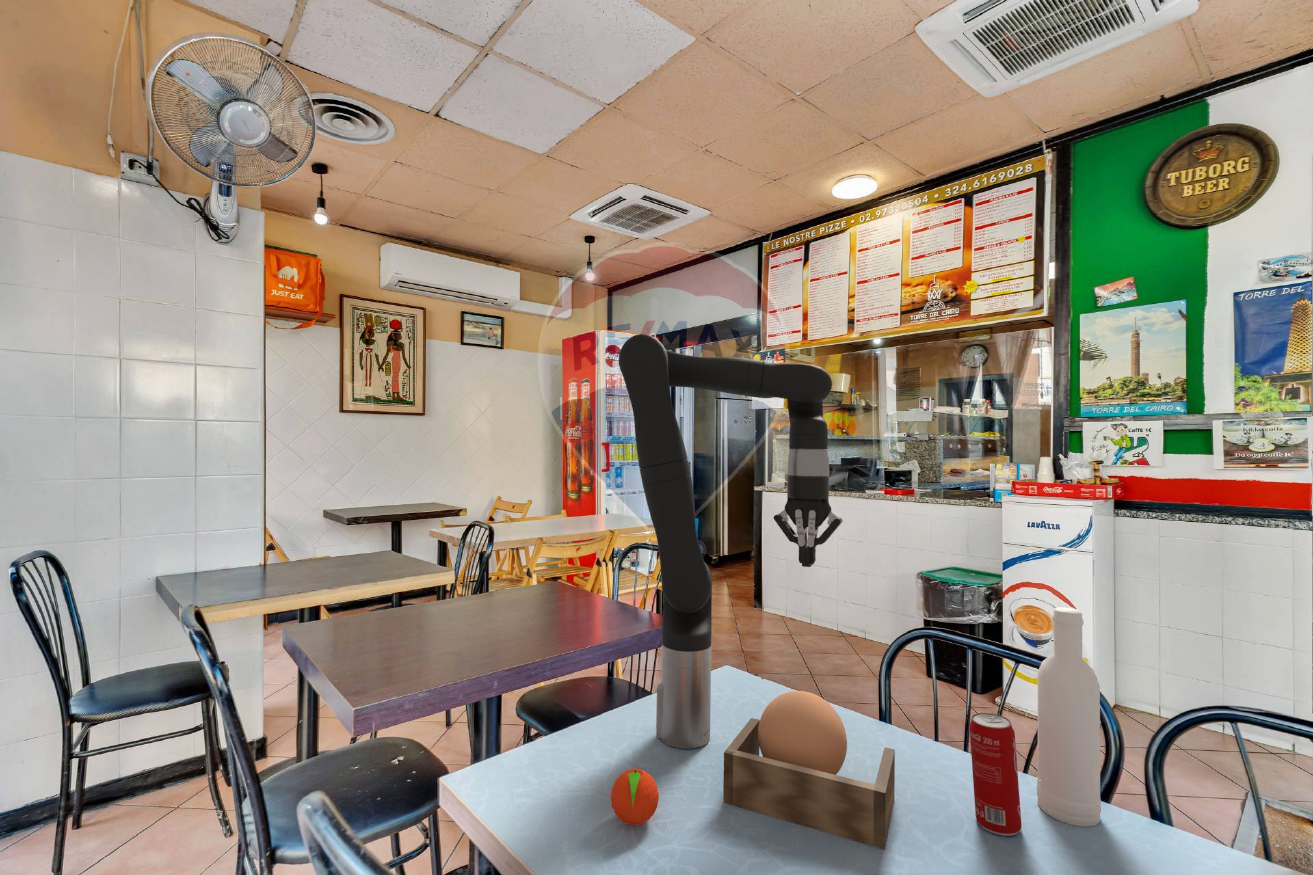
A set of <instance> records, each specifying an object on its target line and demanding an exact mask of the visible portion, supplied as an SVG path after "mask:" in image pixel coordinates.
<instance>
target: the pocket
mask: <svg viewBox="0 0 1313 875" xmlns="http://www.w3.org/2000/svg"><path fill="white" fill-rule="evenodd" d="M759 722H760V719H759V718H758V719H757V718H753V717H751V718H750V719H749V720H748V721H747V723H746V724H745V725H744V726H743V727H742V729H741V730H740V731H739V733H738V734H737V735H736V737H735V738H734V739H733V740H732V741H731V743H730V744H729V745H728V747H726V749H725V750H724V751H723V786H722V787H723V792H722V794H723V796H722V797H723V798H722V800H723V802H722V803H724V804H725V805H726V804H727V805H729V806H730V805H731V806H732V807H733V806H734V807H737V808H741V809H744V810H747V811H751V812H755V813H757V814H761V815H765V816H768V817H771V818H774V819H779V820H782V821H785V822H789V823H792V824H795V825H799V826H803V827H805V828H808V829H813V830H817V831H819V832H822V833H826V834H829V835H832V836H837V837H839V838H842V839H843V838H844V839H845V840H846V839H847V840H851V841H854V842H856V843H861V844H864V845H868V846H870V847H874V848H877V849H881V850H886V847H887V842H888V836H889V830H890V825H891V820H892V815H893V809H894V803H895V798H896V797H895V787H896V786H895V784H896V781H895V780H896V779H895V777H896V776H895V774H896V773H895V772H896V771H895V770H896V769H895V768H896V766H895V765H896V764H895V762H896V757H895V755H896V752H895V749H894V748H889V747H886V746H884V747H883V751H882V755H881V760H880V764H879V768H878V771H877V777H876V780H875V784H874V783H870V782H866V781H861V780H858V779H853V778H850V777H846V776H841V775H838V774H836V775H834V774H830V773H826V772H822V771H818V770H814V769H810V768H805V767H801V766H797V765H793V764H789V763H785V762H781V761H777V760H773V759H769V758H765V757H763V756H760V746H759V741H758V727H759Z"/></svg>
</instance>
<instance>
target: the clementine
mask: <svg viewBox="0 0 1313 875" xmlns="http://www.w3.org/2000/svg"><path fill="white" fill-rule="evenodd" d="M659 794H660V793H659V788H658V785H657V783H656V780H655V779H654V778H653V777H652V775H651V774H650V773H648V772H647V771H645V770H642V769H639V768H630V769H628V770H626V771H623V773H621V774H619V775H618V777H617V778H616V779H615V780H614V783H613V785H612V787H611V792H610V803H611V808H612V809H613V810H612V811H613V812H614V815H615V816H616V817H617V818H618V820H619V821H621V822H623V823H624V824H626V825H629V826H638V825H642V824H644V823H646V822H647V821H649V820H650V819H651V818H652V816H654V814H655V812H656V810H657V808H658V805H659V799H660V795H659Z"/></svg>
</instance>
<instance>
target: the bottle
mask: <svg viewBox="0 0 1313 875" xmlns="http://www.w3.org/2000/svg"><path fill="white" fill-rule="evenodd" d="M1051 618H1052V619H1051V620H1052V622H1053V653H1052V654H1050V655H1049V656H1048V657H1046V658H1045V659H1044V660H1042V661H1041V664H1040V665H1039V667H1038V668H1039V669H1038V671H1037V780H1036V796H1037V805H1038V806H1039V808H1040V809H1041V810H1042V812H1044V813H1045V814H1046V815H1048V816H1049V817H1051V818H1054V819H1055V820H1057V821H1059V822H1062V823H1064V822H1065V824H1067V825H1072V826H1075V825H1076V826H1077V827H1081V826H1082V827H1085V828H1086V827H1087V828H1089V827H1090V828H1091V827H1094V826H1098V824H1099V823H1100V822H1101V814H1102V800H1101V710H1100V709H1101V708H1100V707H1101V701H1100V700H1101V698H1100V697H1101V694H1100V693H1101V689H1100V688H1101V686H1100V683H1099V681H1098V677H1097V675H1096V672H1095V670H1094V668H1093V667H1091V666H1090V664H1089V663H1088V662H1087V661H1086V660H1084V658H1083V625H1084V619H1083V613H1082V612H1081V610H1079V609H1075V608H1070V607H1064V606H1063V607H1061V606H1060V607H1059V606H1058V607H1055V608H1053V615H1052V616H1051ZM1039 780H1041V781H1039ZM1076 826H1075V827H1076Z"/></svg>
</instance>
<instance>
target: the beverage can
mask: <svg viewBox="0 0 1313 875" xmlns="http://www.w3.org/2000/svg"><path fill="white" fill-rule="evenodd" d="M968 728H969V740H970V755H971V756H970V757H971V769H972V782H973V796H974V798H973V800H974V811H975V819H976V821H977V823H978V825H979V826H980V827H981V828H983V829H984V830H986V831H987V832H989V833H991V834H995V835H997V836H1005V837H1009V836H1011V837H1012V836H1015V835H1017V834H1019V833H1020V832H1021V830H1022V826H1023V825H1022V813H1021V800H1020V799H1021V798H1020V788H1019V785H1020V784H1019V775H1018V774H1019V771H1018V770H1019V769H1018V759H1017V746H1016V734H1015V733H1016V732H1015V730H1014V728H1013V725H1012V722H1011V721H1010V719H1008V718H1007V717H1005V716H1003V715H1000V714H995V713H988V712H979V713H974V714H973V715H972V716H971V720H970V723H969V727H968Z"/></svg>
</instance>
